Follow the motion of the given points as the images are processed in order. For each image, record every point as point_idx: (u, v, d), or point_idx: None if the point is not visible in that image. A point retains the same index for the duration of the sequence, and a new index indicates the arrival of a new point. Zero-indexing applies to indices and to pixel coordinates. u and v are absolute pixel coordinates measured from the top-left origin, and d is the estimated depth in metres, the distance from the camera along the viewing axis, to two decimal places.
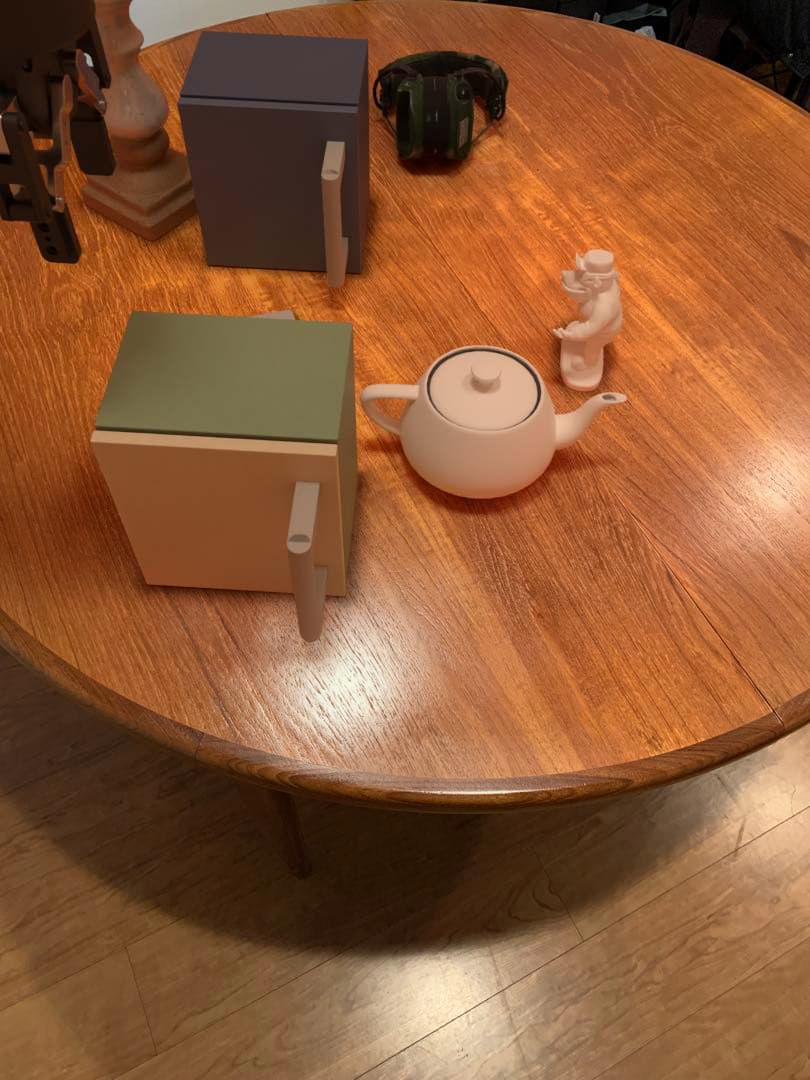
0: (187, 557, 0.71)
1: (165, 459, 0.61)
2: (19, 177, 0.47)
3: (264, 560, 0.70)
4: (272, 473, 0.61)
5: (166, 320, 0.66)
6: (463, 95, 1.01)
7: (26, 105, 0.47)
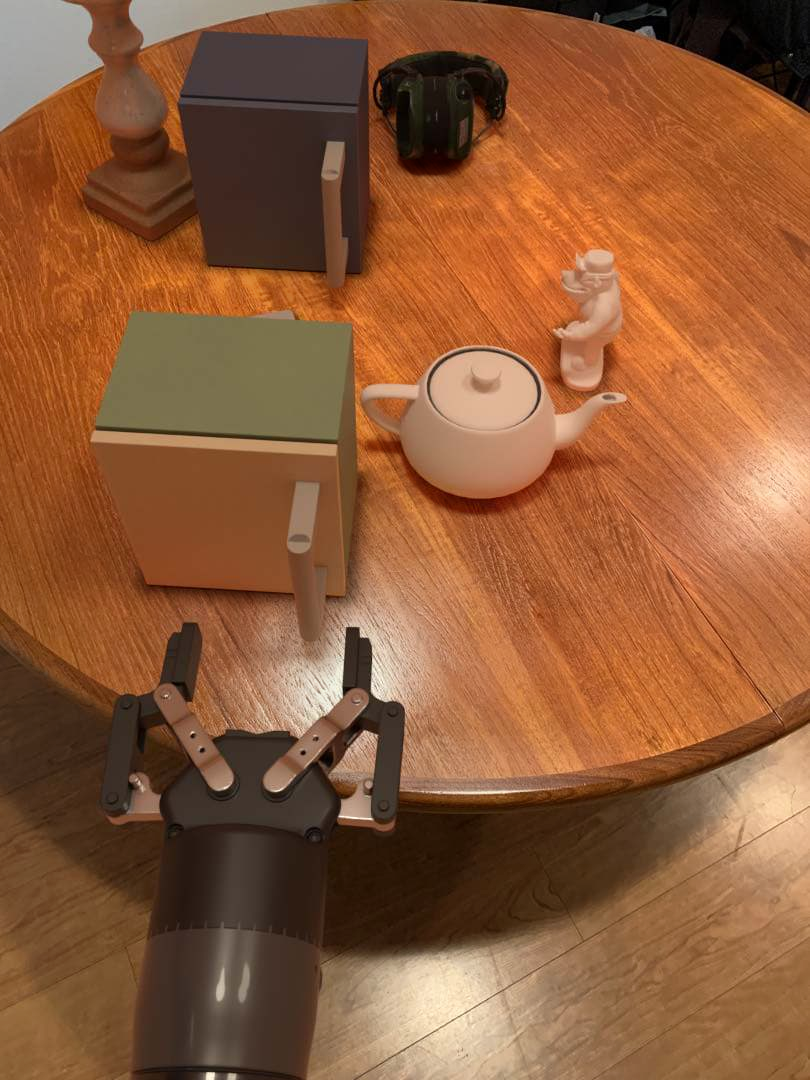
0: (187, 557, 0.71)
1: (165, 459, 0.61)
2: None
3: (264, 560, 0.70)
4: (272, 473, 0.61)
5: (166, 320, 0.66)
6: (463, 95, 1.01)
7: None
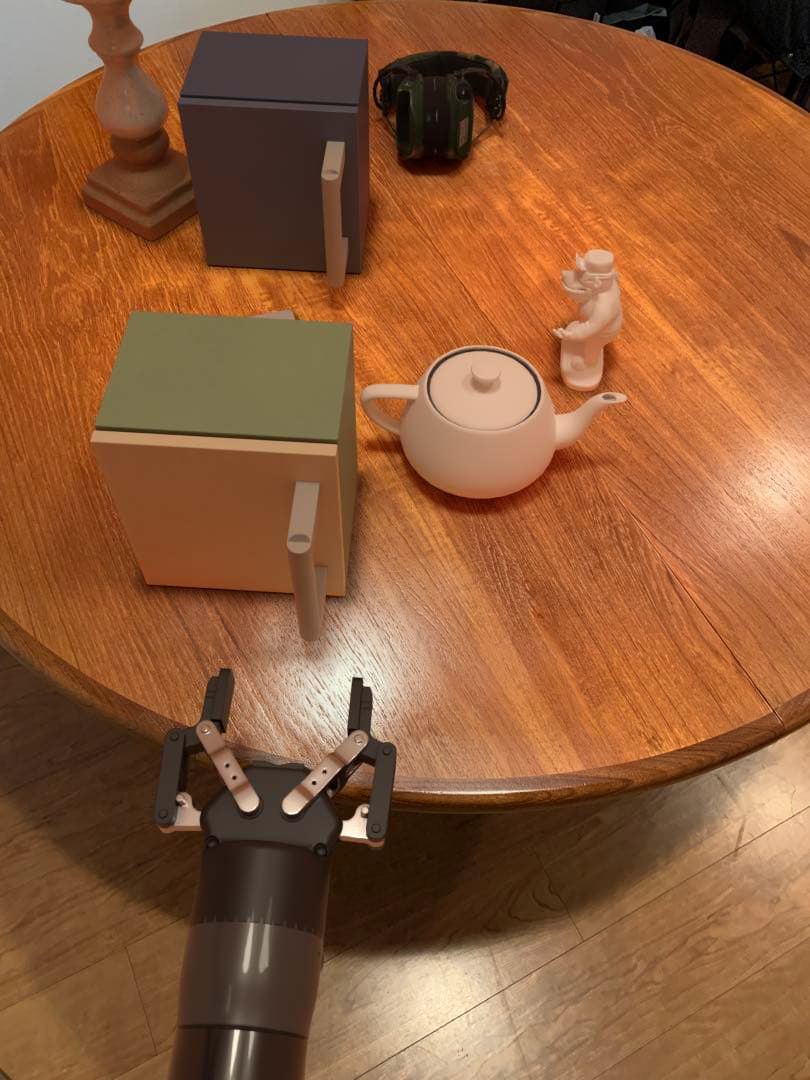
0: (187, 557, 0.71)
1: (165, 459, 0.61)
2: None
3: (264, 560, 0.70)
4: (272, 473, 0.61)
5: (166, 320, 0.66)
6: (463, 95, 1.01)
7: None
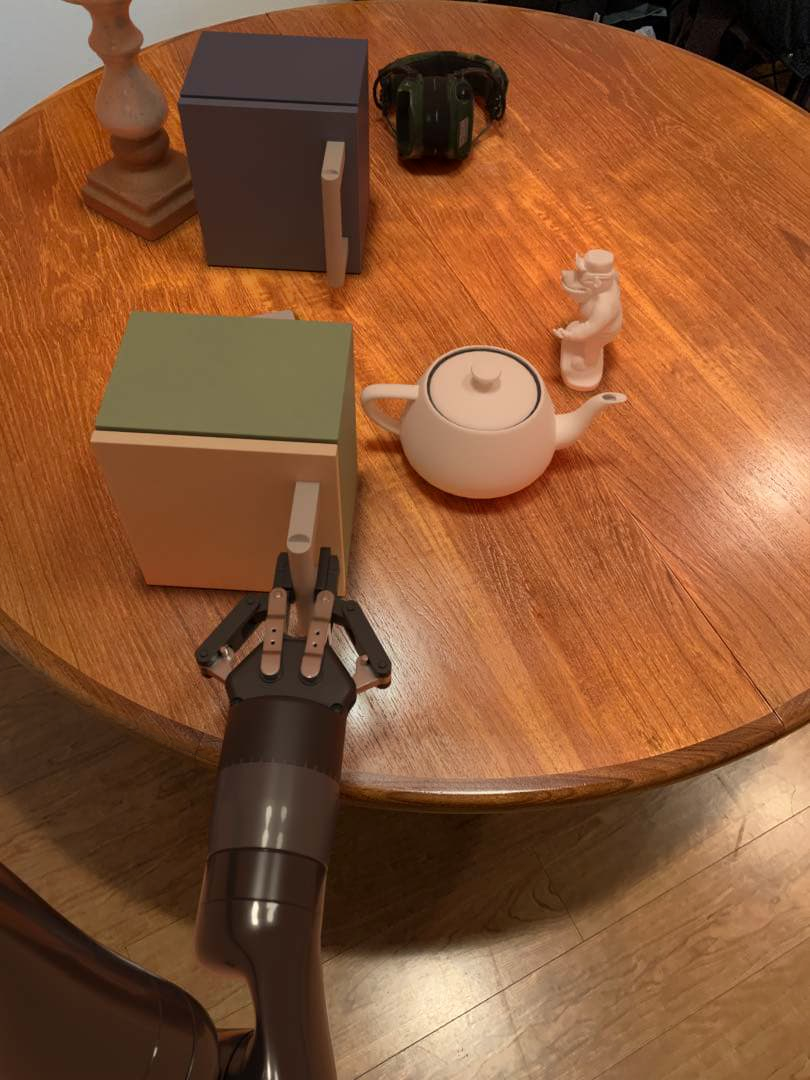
0: (187, 557, 0.71)
1: (165, 459, 0.61)
2: None
3: (264, 560, 0.70)
4: (272, 473, 0.61)
5: (166, 320, 0.66)
6: (463, 95, 1.01)
7: None
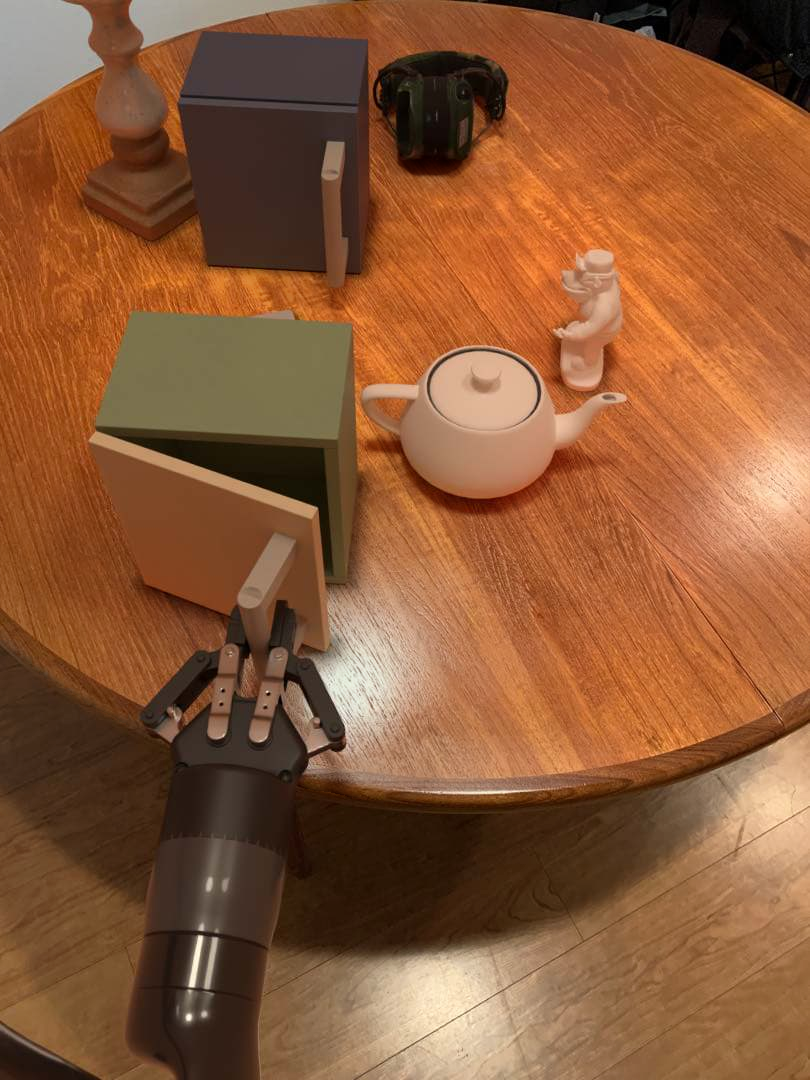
0: (179, 571, 0.70)
1: (154, 477, 0.60)
2: None
3: None
4: (252, 518, 0.59)
5: (166, 320, 0.66)
6: (463, 95, 1.01)
7: None
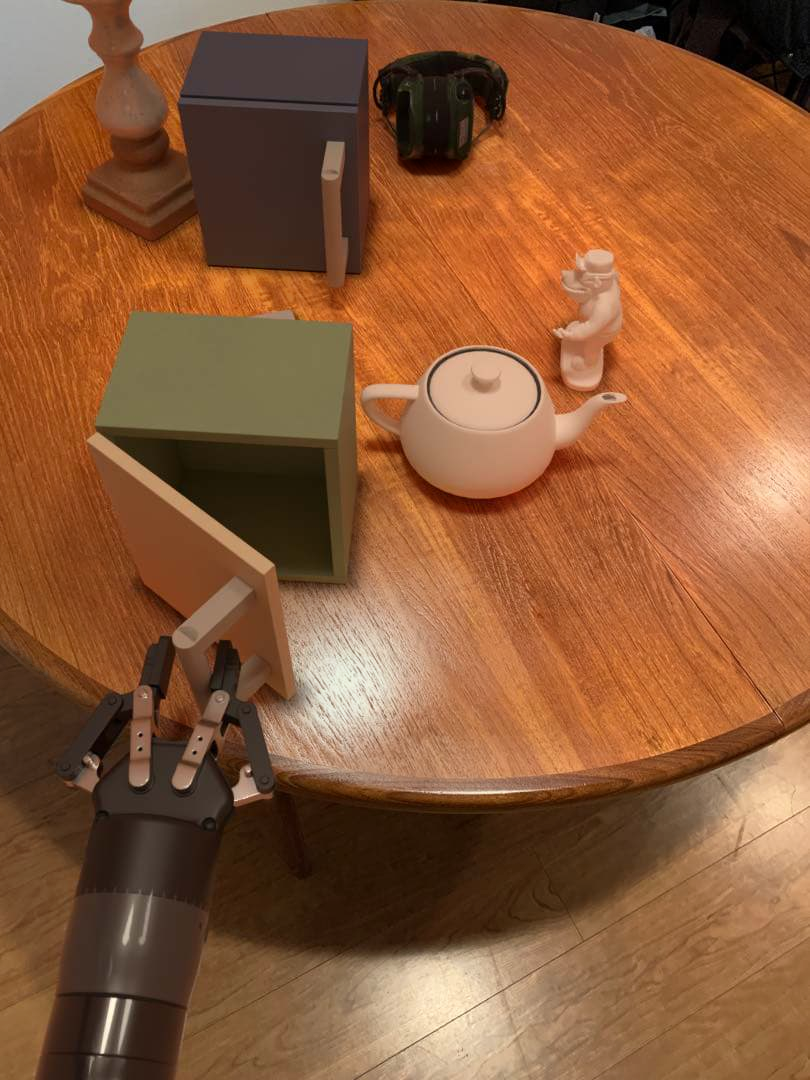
0: (167, 582, 0.69)
1: (138, 490, 0.59)
2: None
3: None
4: (217, 556, 0.58)
5: (166, 320, 0.66)
6: (463, 95, 1.01)
7: None
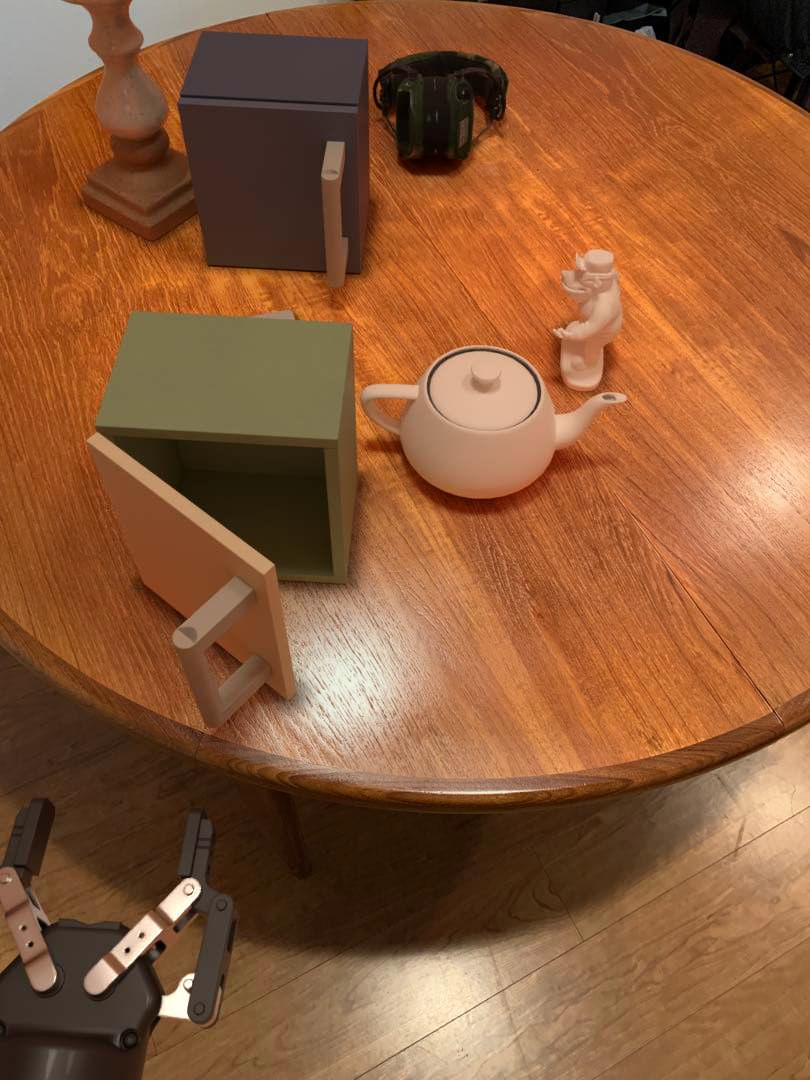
0: (167, 582, 0.69)
1: (138, 490, 0.59)
2: None
3: None
4: (217, 556, 0.58)
5: (166, 320, 0.66)
6: (463, 95, 1.01)
7: None
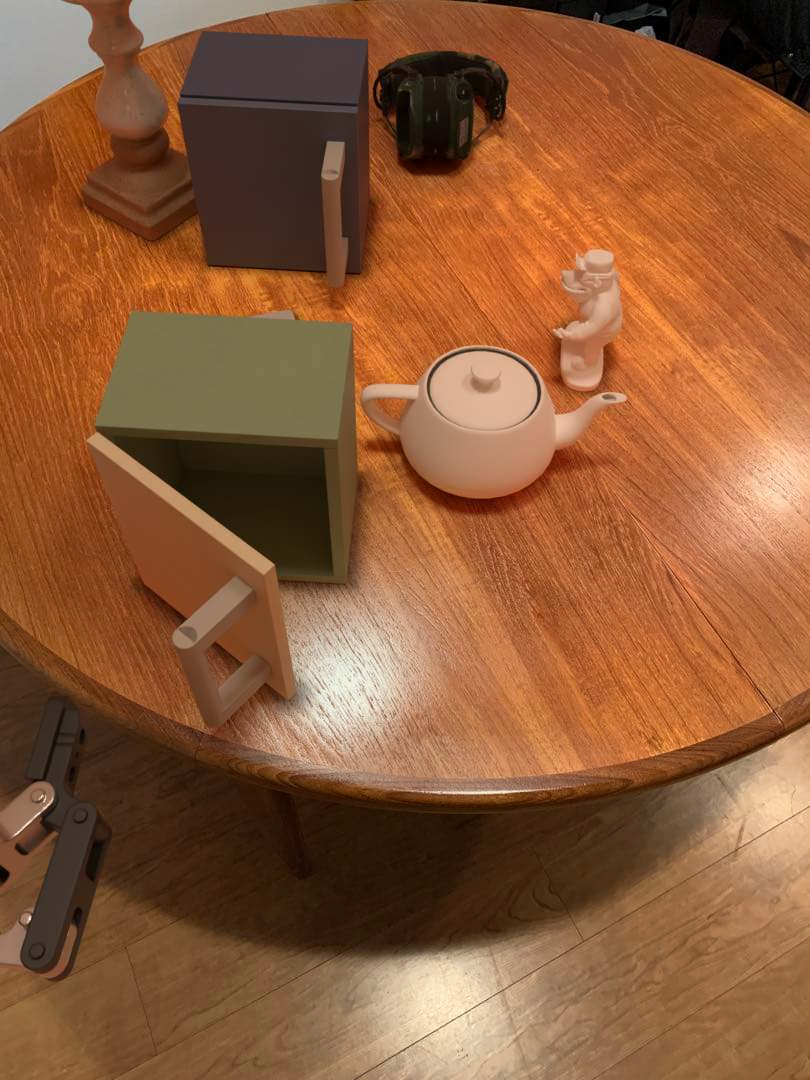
0: (167, 582, 0.69)
1: (138, 490, 0.59)
2: None
3: None
4: (217, 556, 0.58)
5: (166, 320, 0.66)
6: (463, 95, 1.01)
7: None
